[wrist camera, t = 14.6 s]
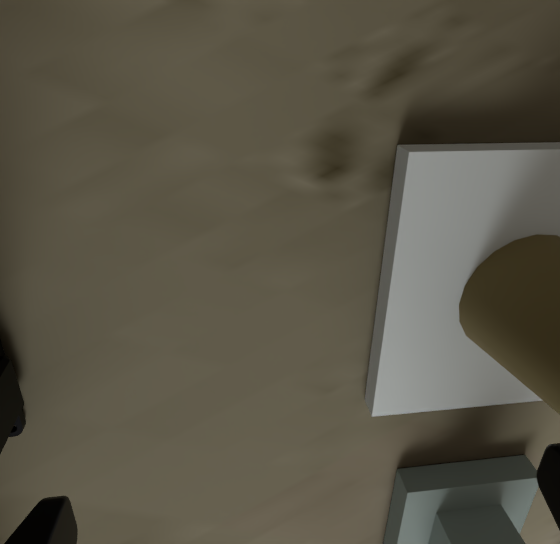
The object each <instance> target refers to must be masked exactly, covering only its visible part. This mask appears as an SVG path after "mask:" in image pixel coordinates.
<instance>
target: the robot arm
mask: <svg viewBox="0 0 560 544" xmlns="http://www.w3.org/2000/svg"><path fill="white" fill-rule="evenodd" d="M23 405H24V401H23V398H22V394H21V391H20V388H19V384H18V381H17V378H16V375H15V371H14V368H13V365H12V362H11V360H10V359H9V358H8V357H7V356H5V353H4V350H3V347H2V343H1V340H0V454H1V451H2V449H3V447H4V445H5V443H6V441H7V439H8V437H14V436H18V435H19V434H21V433H22V431H23V429H24V427H25V424H26V421H25V417H24V414H23V411H22V407H23ZM14 425H15V426H14ZM536 477H537V482H538V485H539V488H540V490H541V492H542V494H543V496H544V498H545V501H546V503H547V505H548V507H549V509H550V511H551V513H552V515H553V517H554V519H555V522H556V524H557V526H558V528H559V530H560V443H557V444H550V445H548V446H547V447H546V449H545V451H544V454H543V457H542V459H541V462H540V464H539V467H538V470H537V474H536ZM76 543H77V524H76V520H75V517H74V513H73V510H72V506H71V503H70V500H69V498H68V497H67V496H57V497H48V498H44V499H42V500H41V501H40V502H39V503H38V504H37V505H36V506H35V507H34V508H33V510H32V511H31V512H30V513H29V514H28V516H27V517H26V518H25V519H24V520H23V522H22V523H21V524H20V525H19V526H18V528H17V529H16V530H15V531H14V532H13V534H12V535H11V536H10V537H9V538H8V540H7V541H6V542H5V543H4V544H76Z"/></svg>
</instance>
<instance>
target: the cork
mask: <svg viewBox="0 0 560 544" xmlns="http://www.w3.org/2000/svg"><path fill="white" fill-rule="evenodd" d="M459 322H460V324H461V326H462V328H463V330H464V332H465V335H466V336H467V337H468V338H469V339H471V340H472V341H473V342H474V343H475V344H476V345H478V346H479V347H480V348H481V349H482V350H484V351H485V352H486V353H487V354H488V355H490V356H491V357H492V358H493V359H494V360H495V361H497V362H498V363H499V364H500V365H501V366H503V367H504V368H505V369H506V370H507V371H509V372H510V373H511V374H512V375H513V376H515V377H516V378H517V379H518V380H519V381H520V382H522V383H523V384H524V385H525V386H526V387H528V388H529V389H530V390H531V391H532V392H534V393H535V394H536V395H537V396H538V397H539V398H541V399H542V400H543V401H544V402H545V403H547V404H548V405H549V406H550V407H551V408H553V409H554V410H555V411H556V412H557V413H559V414H560V237H559V236H557V235H538V234H536V235H532V236H528V237H525V238H521V239H517V240H514V241H512V242H510V243H509V244H507V245H505V246H503V247H501V248H500V249H498V250H496V251H494V252H493V253H492V254H491V255H490V256H489V257H488V258H487V259H485V260H484V261H483V262H482V263H481V264H480V265H479V266H478V267H477V268H476V270H475V271H474V273H473V274H472V276H471V277H470V279H469V280H468V282H467V283H466V285H465V287H464V290H463V293H462V296H461V299H460V303H459Z"/></svg>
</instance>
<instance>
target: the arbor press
mask: <svg viewBox="0 0 560 544" xmlns="http://www.w3.org/2000/svg"><path fill="white" fill-rule="evenodd" d="M536 234H538V235H557V236H559V237H560V142H542V143H479V144H415V145H397V152H396V160H395V168H394V175H393V183H392V191H391V199H390V206H389V214H388V222H387V230H386V237H385V245H384V253H383V261H382V269H381V276H380V284H379V292H378V300H377V307H376V315H375V323H374V331H373V338H372V346H371V354H370V362H369V370H368V377H367V385H366V393H365V402H366V404H367V406H368V409H369V411H370V413H371V416H372V417H373V416H384V415H394V414H405V413H416V412H426V411H437V410H447V409H458V408H469V407H479V406H490V405H500V404H511V403H521V402H532V401H543V400H542V399H541V398H539V397H538V396H537V395H536V394H535V393H534V392H532V391H531V390H530V389H529V388H528V387H526V386H525V385H524V384H523V383H522V382H520V381H519V380H518V379H517V378H516V377H515V376H513V375H512V374H511V373H510V372H509V371H507V370H506V369H505V368H504V367H503V366H501V365H500V364H499V363H498V362H497V361H495V360H494V359H493V358H492V357H491V356H490V355H488V354H487V353H486V352H485V351H484V350H482V349H481V348H480V347H479V346H478V345H476V344H475V343H474V342H473V341H472V340H471V339H469V338H468V337H467V336H466V335H465V332H464V330H463V328H462V326H461V324H460V322H459V303H460V299H461V296H462V293H463V290H464V287H465V285H466V283H467V282H468V280H469V279H470V277H471V276H472V274H473V273H474V271H475V270H476V268H477V267H478V266H479V265H480V264H481V263H482V262H483V261H484V260H485V259H487V258H488V257H489V256H490V255H491V254H492V253H493V252H494V251H496V250H498V249H500V248H501V247H503V246H505V245H507V244H509V243H510V242H512V241H514V240H517V239H521V238H525V237H528V236H532V235H536ZM536 474H537V470H536V469H535V467H534V466H533V465H532V463H531V462H530V461H529V459H528V458H527V457H526V455H519V456H510V457H501V458H492V459H483V460H474V461H465V462H455V463H446V464H437V465H428V466H419V467H410V468H401V469H397V472H396V478H395V483H394V489H393V494H392V499H391V505H390V510H389V515H388V521H387V526H386V532H385V537H384V542H383V544H525V542H524V541H523V539H522V537H521V536H520V532H521V529H522V527H523V524H524V521H525V519H526V516H527V514H528V511H529V509H530V506H531V504H532V501H533V498H534V496H535V493H536V491H537V488H538V486H539V485H538V482H537V477H536Z"/></svg>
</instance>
